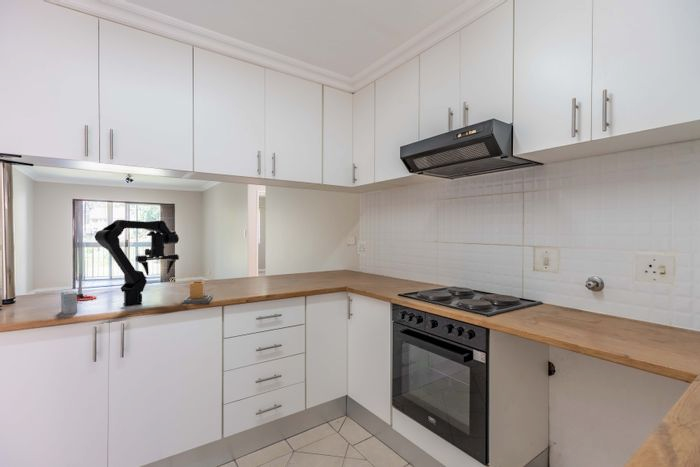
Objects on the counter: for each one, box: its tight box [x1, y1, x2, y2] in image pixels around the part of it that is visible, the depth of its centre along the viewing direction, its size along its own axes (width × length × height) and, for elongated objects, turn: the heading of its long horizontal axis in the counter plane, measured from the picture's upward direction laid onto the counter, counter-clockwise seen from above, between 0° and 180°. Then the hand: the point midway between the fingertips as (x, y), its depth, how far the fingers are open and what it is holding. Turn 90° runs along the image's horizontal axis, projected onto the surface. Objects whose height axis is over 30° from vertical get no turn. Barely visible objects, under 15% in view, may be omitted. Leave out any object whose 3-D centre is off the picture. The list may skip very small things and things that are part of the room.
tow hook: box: [77, 273, 98, 302], centre depth 165 cm, size 8×13×9 cm
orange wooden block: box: [189, 280, 206, 299], centre depth 165 cm, size 6×6×8 cm
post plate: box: [180, 294, 213, 305], centre depth 165 cm, size 12×12×5 cm
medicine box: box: [60, 290, 78, 315], centre depth 140 cm, size 8×4×9 cm, turn 48°
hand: (157, 274), depth 167 cm, fingers open, 9 cm apart
